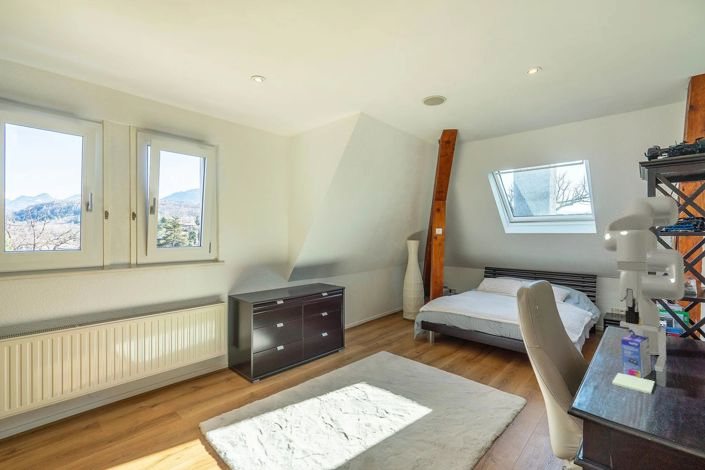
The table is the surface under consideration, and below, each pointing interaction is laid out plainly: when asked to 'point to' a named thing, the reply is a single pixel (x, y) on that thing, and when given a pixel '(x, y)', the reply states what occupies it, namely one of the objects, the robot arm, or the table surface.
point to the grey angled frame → (661, 340)
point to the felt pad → (634, 383)
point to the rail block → (661, 377)
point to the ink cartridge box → (636, 355)
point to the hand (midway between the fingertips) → (632, 323)
